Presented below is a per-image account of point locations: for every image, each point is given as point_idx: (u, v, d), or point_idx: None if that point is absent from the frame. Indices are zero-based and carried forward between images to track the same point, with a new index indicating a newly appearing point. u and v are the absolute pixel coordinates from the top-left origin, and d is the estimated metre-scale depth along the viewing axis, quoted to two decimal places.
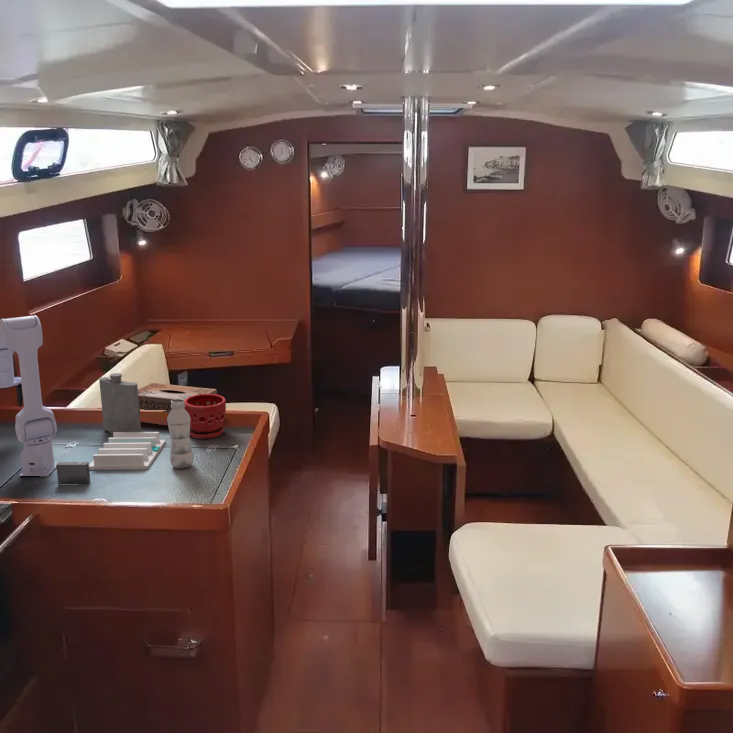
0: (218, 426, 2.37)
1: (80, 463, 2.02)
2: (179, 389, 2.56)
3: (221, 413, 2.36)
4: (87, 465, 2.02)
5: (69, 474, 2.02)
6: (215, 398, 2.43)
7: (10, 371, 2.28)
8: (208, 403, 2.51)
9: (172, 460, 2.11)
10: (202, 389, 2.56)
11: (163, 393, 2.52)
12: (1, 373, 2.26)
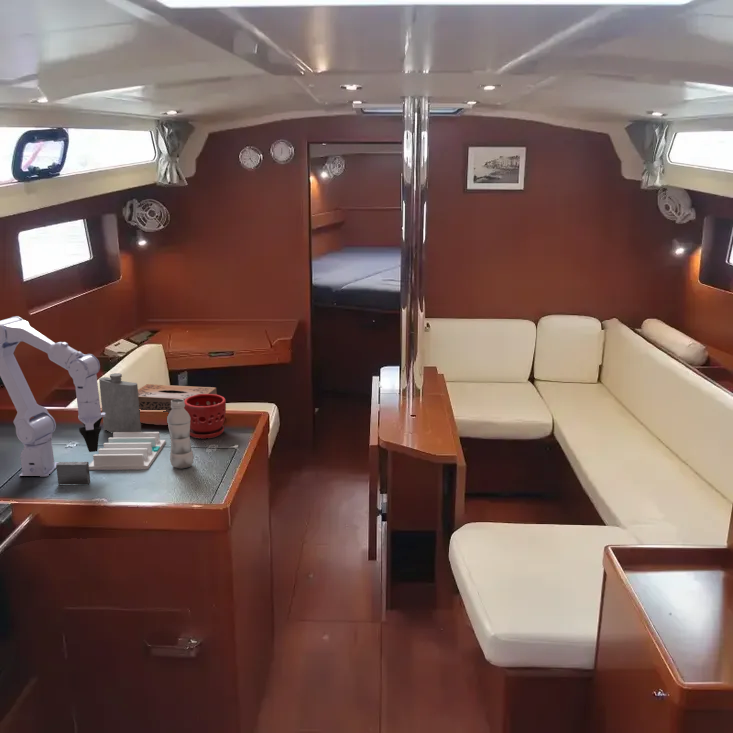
0: (218, 426, 2.37)
1: (80, 463, 2.02)
2: (178, 389, 2.56)
3: (221, 413, 2.36)
4: (87, 465, 2.02)
5: (69, 474, 2.02)
6: (215, 398, 2.43)
7: (78, 402, 2.01)
8: None
9: (172, 460, 2.11)
10: (201, 388, 2.57)
11: (163, 393, 2.51)
12: None
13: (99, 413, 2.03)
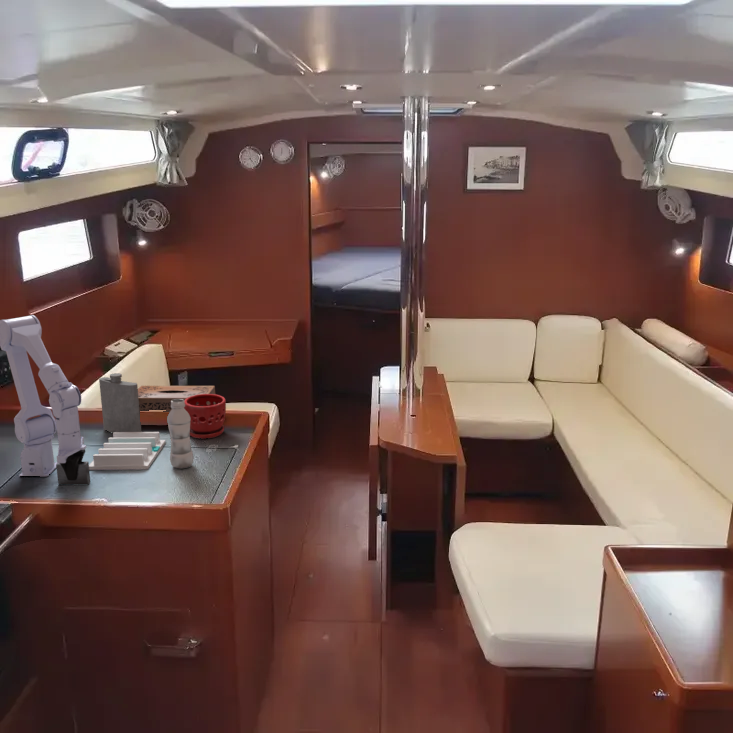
0: (218, 426, 2.37)
1: (80, 463, 2.02)
2: (177, 389, 2.56)
3: (221, 413, 2.36)
4: (87, 465, 2.02)
5: None
6: (215, 398, 2.43)
7: (57, 433, 1.98)
8: None
9: (172, 460, 2.11)
10: (200, 387, 2.59)
11: (164, 393, 2.51)
12: None
13: (78, 446, 1.99)
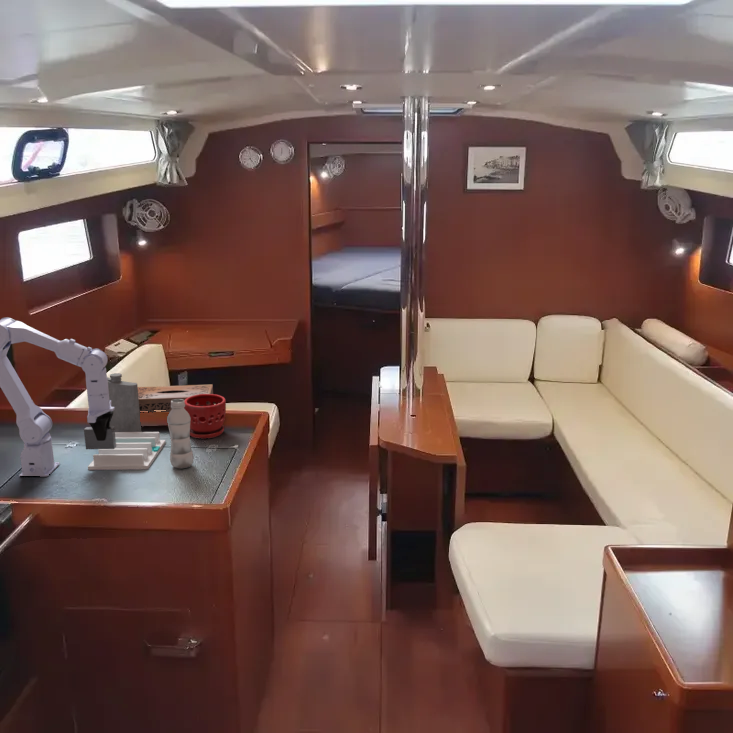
0: (218, 426, 2.37)
1: (106, 428, 2.11)
2: (175, 389, 2.56)
3: (221, 413, 2.36)
4: (113, 430, 2.12)
5: None
6: (215, 398, 2.43)
7: (87, 395, 2.08)
8: None
9: (172, 460, 2.11)
10: (198, 386, 2.60)
11: (165, 394, 2.51)
12: None
13: (106, 407, 2.09)
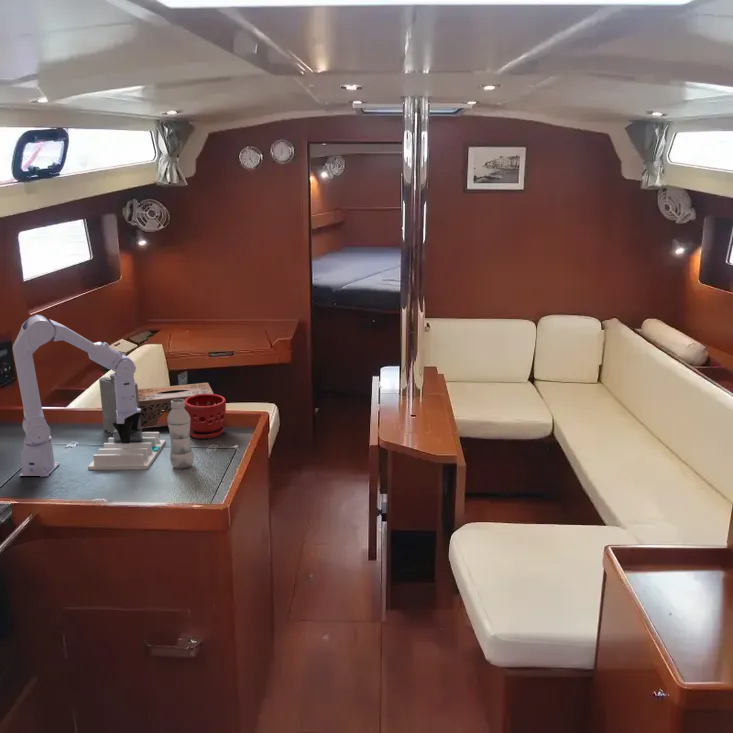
0: (218, 426, 2.37)
1: (134, 430, 2.23)
2: (174, 389, 2.56)
3: (221, 413, 2.36)
4: (141, 432, 2.24)
5: None
6: (215, 398, 2.43)
7: None
8: None
9: (172, 460, 2.11)
10: (195, 385, 2.61)
11: (166, 394, 2.51)
12: None
13: (134, 409, 2.20)
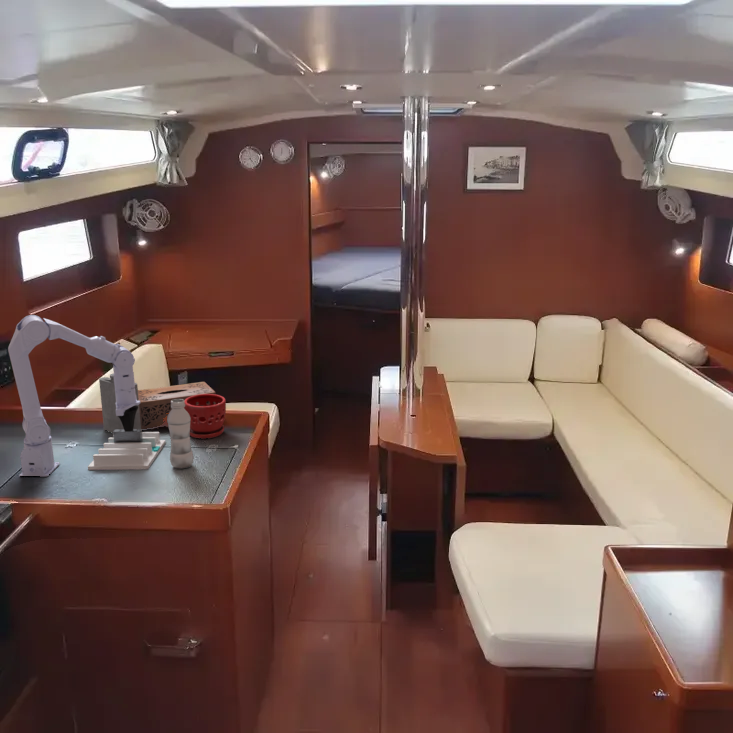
0: (218, 426, 2.37)
1: (134, 430, 2.23)
2: (172, 389, 2.56)
3: (221, 413, 2.36)
4: (141, 432, 2.24)
5: (125, 440, 2.23)
6: (215, 398, 2.43)
7: None
8: None
9: (172, 460, 2.11)
10: (192, 384, 2.62)
11: (167, 394, 2.50)
12: None
13: (133, 401, 2.20)
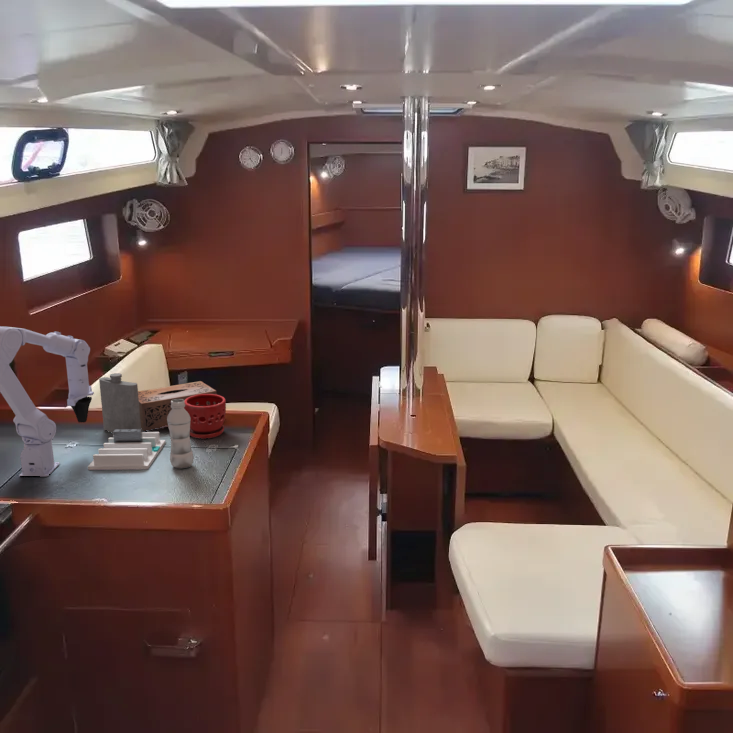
0: (218, 426, 2.37)
1: (134, 430, 2.23)
2: (171, 389, 2.56)
3: (221, 413, 2.36)
4: (141, 432, 2.24)
5: (125, 440, 2.23)
6: (215, 398, 2.43)
7: None
8: None
9: (172, 460, 2.11)
10: (190, 384, 2.62)
11: (168, 394, 2.50)
12: None
13: (86, 392, 2.21)
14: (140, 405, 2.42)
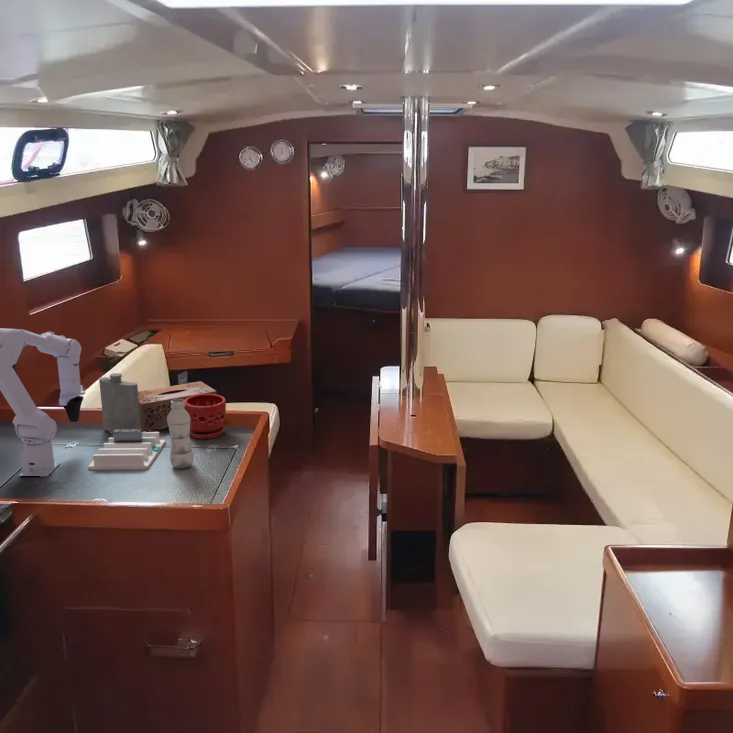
0: (218, 426, 2.37)
1: (134, 430, 2.23)
2: (171, 389, 2.56)
3: (221, 413, 2.36)
4: (141, 432, 2.24)
5: (125, 440, 2.23)
6: (215, 398, 2.43)
7: (59, 379, 2.20)
8: None
9: (172, 460, 2.11)
10: (190, 384, 2.62)
11: (169, 394, 2.50)
12: None
13: (78, 391, 2.21)
14: (140, 405, 2.42)
